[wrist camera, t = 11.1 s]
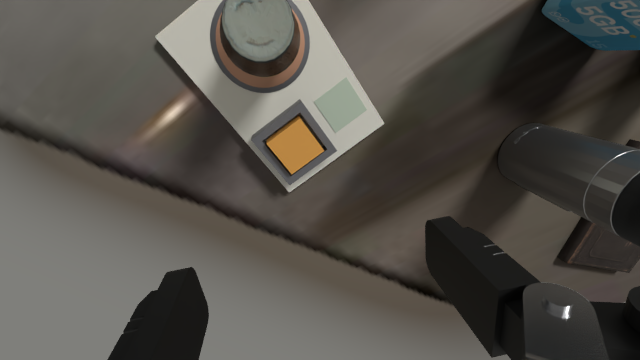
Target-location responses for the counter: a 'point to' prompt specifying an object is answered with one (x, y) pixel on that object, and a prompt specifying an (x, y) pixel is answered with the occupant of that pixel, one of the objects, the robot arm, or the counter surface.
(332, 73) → the white control panel
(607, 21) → the data package
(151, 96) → the counter surface
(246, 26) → the sauce bottle
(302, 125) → the button
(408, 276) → the counter surface
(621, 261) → the hardcover book
